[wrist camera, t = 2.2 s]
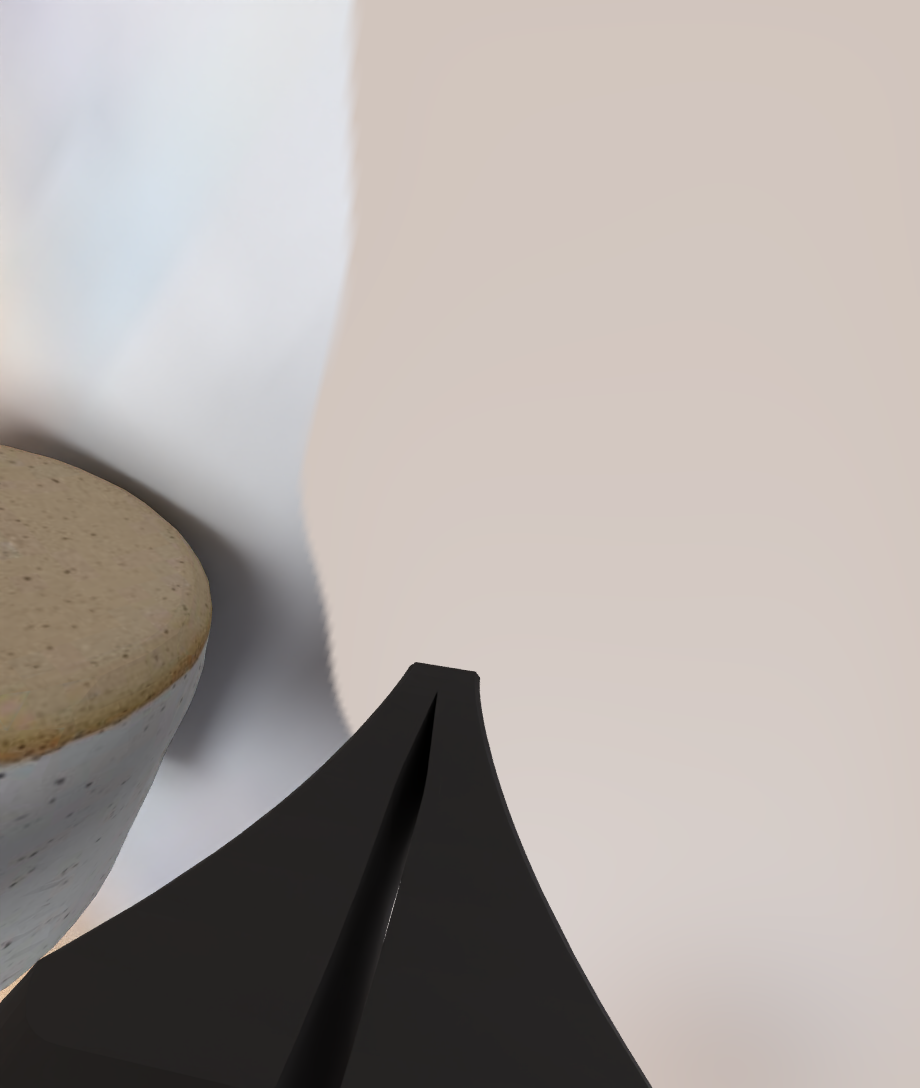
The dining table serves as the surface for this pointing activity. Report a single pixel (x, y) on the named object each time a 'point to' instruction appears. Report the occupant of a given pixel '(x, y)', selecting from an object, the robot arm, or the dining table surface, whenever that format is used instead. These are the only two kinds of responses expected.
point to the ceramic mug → (82, 685)
